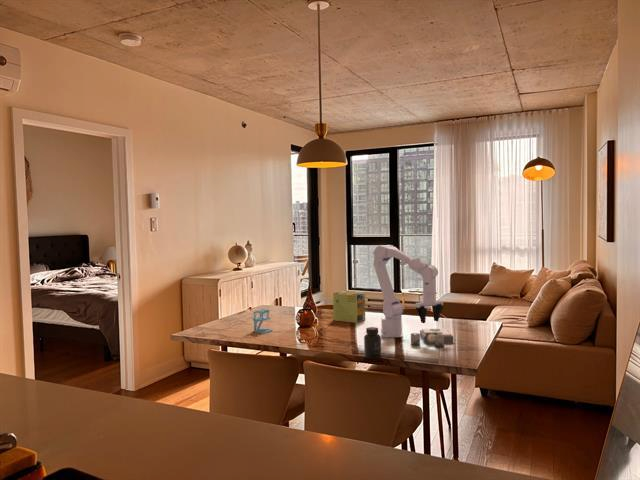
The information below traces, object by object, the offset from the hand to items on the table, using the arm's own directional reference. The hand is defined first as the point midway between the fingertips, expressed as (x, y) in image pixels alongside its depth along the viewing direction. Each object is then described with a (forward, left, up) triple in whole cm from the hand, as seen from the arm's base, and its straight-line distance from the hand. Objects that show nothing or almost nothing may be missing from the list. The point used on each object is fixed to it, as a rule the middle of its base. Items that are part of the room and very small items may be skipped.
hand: (429, 321), depth 224 cm
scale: (+4, +2, -9) cm, 10 cm away
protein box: (-36, +50, -9) cm, 63 cm away
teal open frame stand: (-81, +21, -9) cm, 85 cm away
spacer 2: (+3, -10, -9) cm, 14 cm away
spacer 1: (-7, -7, -9) cm, 14 cm away
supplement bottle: (-27, -27, -9) cm, 40 cm away
